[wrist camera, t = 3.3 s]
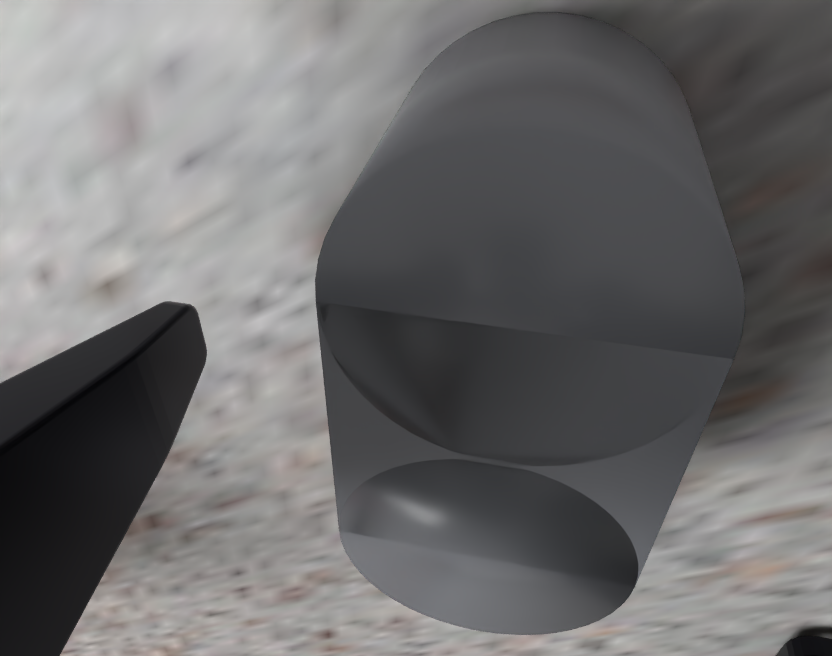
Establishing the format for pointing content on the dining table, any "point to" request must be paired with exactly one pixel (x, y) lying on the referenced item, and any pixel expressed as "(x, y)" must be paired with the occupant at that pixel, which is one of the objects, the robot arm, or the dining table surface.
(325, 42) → the dining table surface
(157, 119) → the dining table surface
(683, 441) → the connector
